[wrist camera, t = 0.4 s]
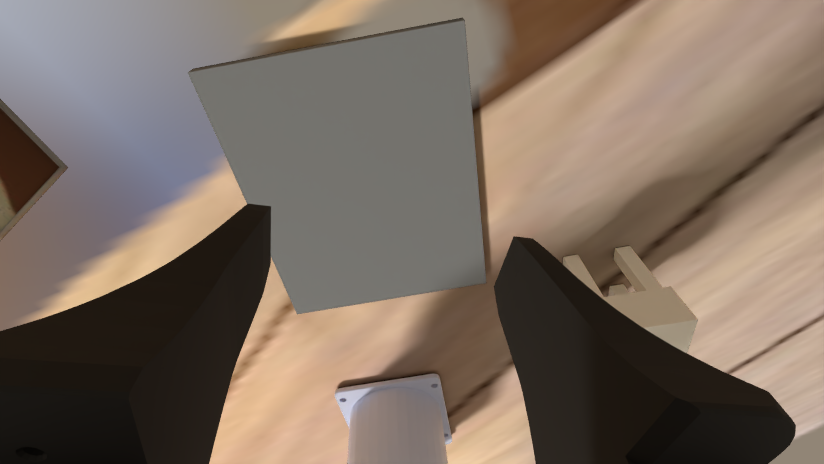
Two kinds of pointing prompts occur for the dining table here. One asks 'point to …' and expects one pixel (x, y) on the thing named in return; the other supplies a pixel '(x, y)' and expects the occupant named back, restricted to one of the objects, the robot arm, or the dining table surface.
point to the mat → (357, 162)
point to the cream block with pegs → (643, 299)
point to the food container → (22, 169)
